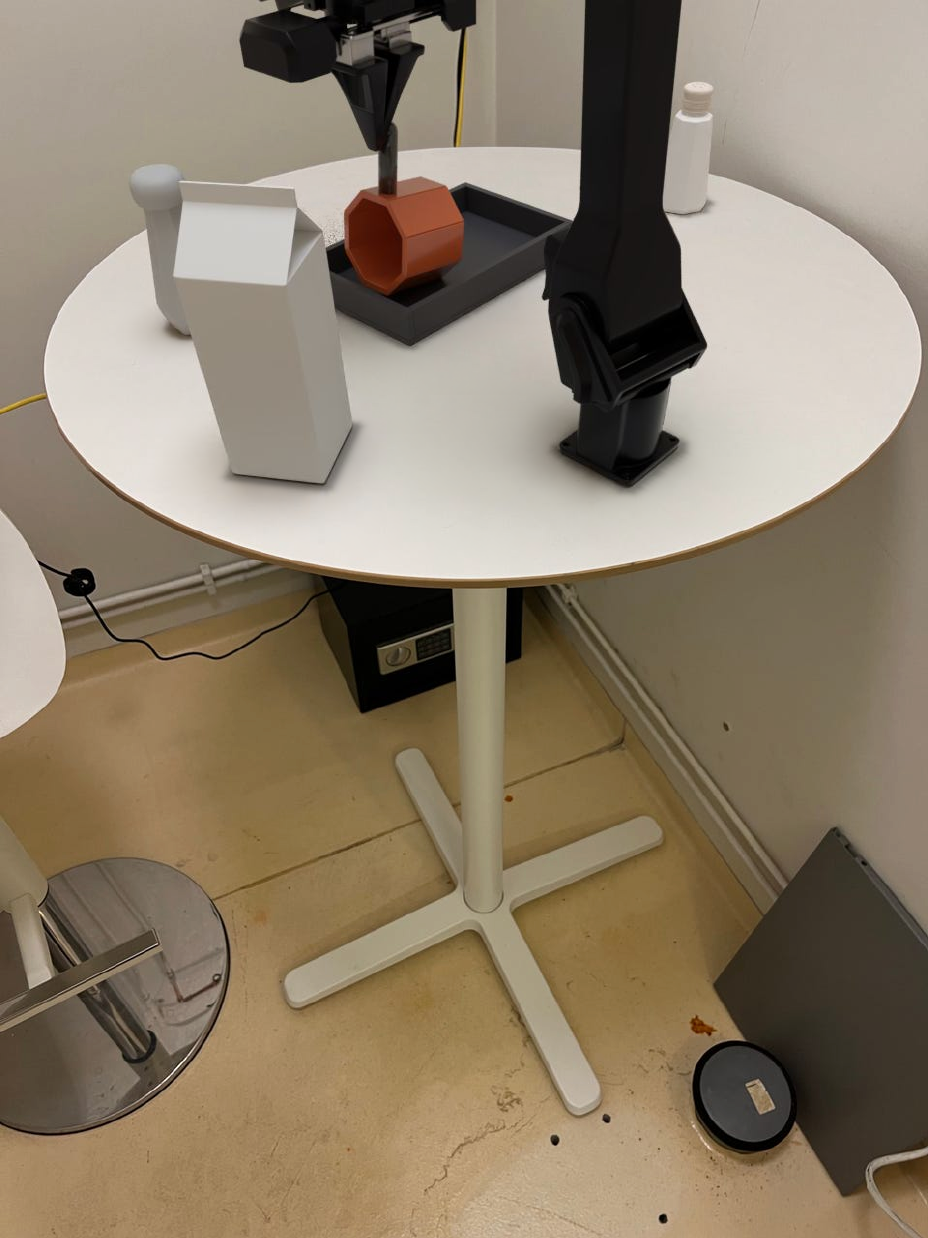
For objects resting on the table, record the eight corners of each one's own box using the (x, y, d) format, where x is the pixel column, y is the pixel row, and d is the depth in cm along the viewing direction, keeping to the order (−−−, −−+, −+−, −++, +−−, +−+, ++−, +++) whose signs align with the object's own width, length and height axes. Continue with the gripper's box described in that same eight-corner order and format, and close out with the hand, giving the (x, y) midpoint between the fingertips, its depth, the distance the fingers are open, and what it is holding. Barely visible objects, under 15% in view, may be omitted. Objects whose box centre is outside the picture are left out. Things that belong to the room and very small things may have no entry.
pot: (460, 285, 78) (405, 304, 74) (400, 259, 81) (345, 276, 77) (471, 122, 69) (409, 134, 65) (403, 101, 72) (340, 111, 68)
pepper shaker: (684, 219, 86) (704, 99, 78) (643, 203, 89) (658, 85, 81) (716, 203, 89) (739, 84, 80) (675, 188, 91) (693, 72, 83)
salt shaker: (244, 317, 76) (207, 164, 66) (197, 347, 73) (151, 191, 63) (198, 300, 78) (156, 150, 68) (151, 328, 75) (100, 175, 65)
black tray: (409, 345, 72) (407, 313, 70) (302, 291, 79) (296, 260, 76) (573, 252, 82) (575, 220, 80) (466, 211, 89) (465, 181, 87)
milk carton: (325, 486, 60) (272, 214, 46) (232, 475, 61) (151, 207, 47) (353, 426, 65) (313, 163, 50) (266, 417, 66) (202, 157, 51)
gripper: (372, -135, 64) (388, 96, 76) (165, -96, 55) (220, 158, 67) (481, -118, 59) (480, 126, 71) (273, -73, 50) (311, 197, 62)
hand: (374, 149), depth 68 cm, fingers closed
